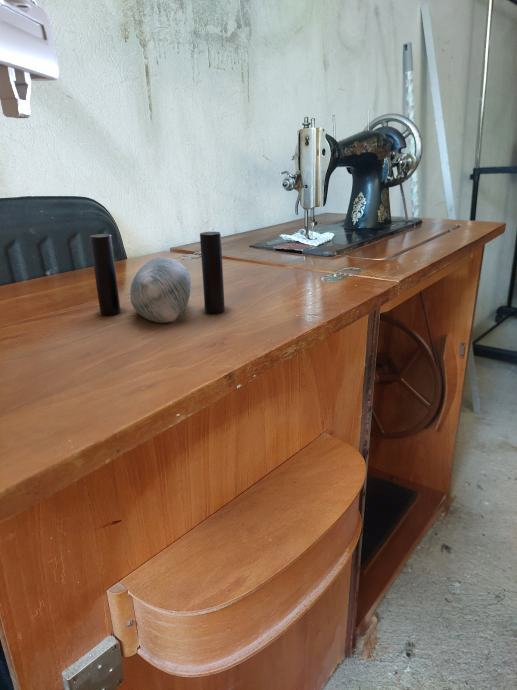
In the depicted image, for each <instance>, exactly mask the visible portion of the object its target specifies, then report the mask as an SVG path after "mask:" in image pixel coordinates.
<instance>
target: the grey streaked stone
mask: <svg viewBox="0 0 517 690" xmlns="http://www.w3.org/2000/svg"><path fill="white" fill-rule="evenodd" d="M191 279H192V278H191V276H190V271H189V270H188V269H187V267H185V266H184V265H183V264H182V263H180V262H179V261H178V260H175V259H173V258H169V257H156V258H152V259H150V260H148V261H146V263H144V264H143V265H142V266H141V267H140V268H139V269H138V271H137V272H136V274H135V275H134V276H133V279H132V282H131V284H130V291H129V296H130V302H131V306H132V307H133V309H134V310H135V312H137V313H138V315H140V316H141V317H143V318H144V319H146V320H148V321H150V322H154V323H157V324H169V323H172V322H173V323H174V322H175V321H176V320H178V319H179V318H181V316H182V315H183V314H184V312H185V309H186V308H187V307H188V303H189V300H190V295H191V291H192V281H191Z"/></svg>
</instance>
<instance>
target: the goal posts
mask: <svg viewBox="0 0 517 690" xmlns="http://www.w3.org/2000/svg"><path fill="white" fill-rule="evenodd" d="M89 243H90V250H91V258H92V264H93V271H94V279H95V285H96V292H97V300H98V307H99V312H100V313H99V314H100V316H103V317H111V316H117V315H119V314H121V313H122V311H121V304H120V303H121V302H120V295H119V287H118V281H117V280H118V279H117V273H116V272H117V271H116V264H115V263H116V262H115V255H114V248H113V240H112V234H110V233H96V234H92V235H89ZM199 243H200V256H201V257H200V258H201V274H202V287H203V302H204V303H203V304H204V313H205V314H208V315H220V314H224V313H225V311H226V310H225V309H226V307H225V306H226V305H225V287H224V285H225V284H224V267H223V249H222V248H223V247H222V233H221V231H203V232H200V233H199Z"/></svg>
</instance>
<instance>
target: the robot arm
mask: <svg viewBox="0 0 517 690" xmlns="http://www.w3.org/2000/svg"><path fill="white" fill-rule="evenodd" d="M51 26H52V25H51V22H50V19H49V17H48V14H47V12H46V11H45V9H44V8H42V7H41V6H40V5H38V3H37V2H36V0H0V106H1V110H2V114H3V116H5V117H6V118H11V119H12V118H14V119H29V118H30V117H31V115H32V113H31V106H30V98H31V91H32V81H33V82H46V81H47V82H48V81H57V80H58V79H59V75H60V65H59V60H58V54H57V49H56V44H55V39H54V34H53V29H52V27H51Z"/></svg>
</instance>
